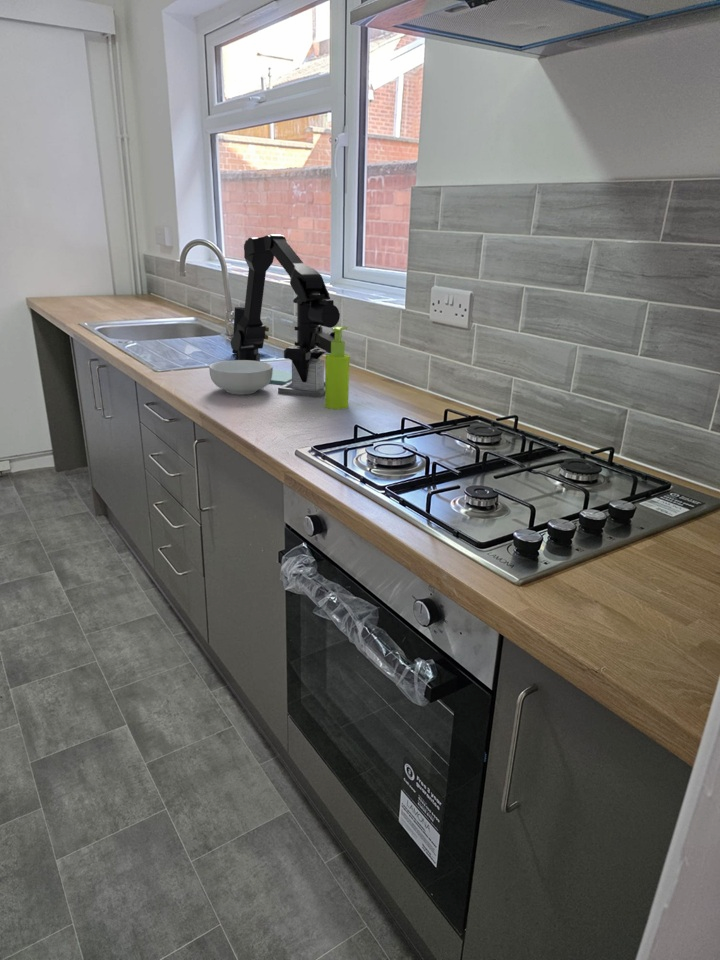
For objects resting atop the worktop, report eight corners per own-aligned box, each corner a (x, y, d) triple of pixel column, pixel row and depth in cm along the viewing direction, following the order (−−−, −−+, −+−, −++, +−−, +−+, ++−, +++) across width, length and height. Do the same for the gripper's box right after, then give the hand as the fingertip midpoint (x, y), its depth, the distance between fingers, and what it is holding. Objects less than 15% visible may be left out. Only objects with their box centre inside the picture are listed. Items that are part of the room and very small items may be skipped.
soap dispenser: (352, 404, 168) (355, 326, 160) (343, 411, 162) (345, 330, 154) (331, 402, 169) (332, 324, 162) (321, 408, 163) (322, 328, 156)
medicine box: (324, 390, 180) (324, 359, 176) (316, 394, 176) (316, 362, 173) (299, 387, 183) (299, 356, 179) (291, 390, 179) (291, 359, 176)
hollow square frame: (278, 393, 176) (278, 387, 175) (296, 383, 186) (296, 378, 186) (320, 398, 172) (320, 392, 172) (336, 388, 183) (336, 382, 182)
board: (248, 380, 188) (247, 377, 187) (266, 372, 198) (266, 368, 198) (285, 385, 184) (285, 381, 184) (302, 376, 195) (302, 373, 194)
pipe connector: (263, 352, 228) (266, 309, 223) (267, 355, 224) (270, 311, 219) (230, 351, 224) (233, 306, 218) (234, 354, 219) (236, 308, 214)
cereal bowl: (285, 392, 177) (285, 366, 175) (236, 402, 166) (235, 375, 163) (247, 380, 188) (246, 356, 185) (198, 390, 176) (196, 364, 174)
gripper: (323, 329, 162) (322, 391, 168) (348, 319, 178) (347, 376, 184) (282, 326, 165) (283, 386, 171) (310, 316, 181) (310, 371, 187)
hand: (307, 379), depth 178 cm, fingers closed on medicine box, 5 cm apart
